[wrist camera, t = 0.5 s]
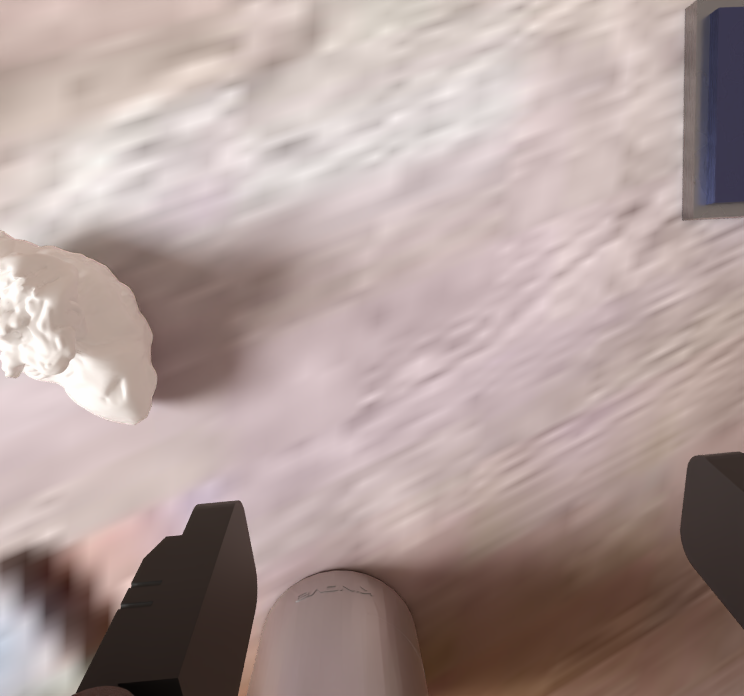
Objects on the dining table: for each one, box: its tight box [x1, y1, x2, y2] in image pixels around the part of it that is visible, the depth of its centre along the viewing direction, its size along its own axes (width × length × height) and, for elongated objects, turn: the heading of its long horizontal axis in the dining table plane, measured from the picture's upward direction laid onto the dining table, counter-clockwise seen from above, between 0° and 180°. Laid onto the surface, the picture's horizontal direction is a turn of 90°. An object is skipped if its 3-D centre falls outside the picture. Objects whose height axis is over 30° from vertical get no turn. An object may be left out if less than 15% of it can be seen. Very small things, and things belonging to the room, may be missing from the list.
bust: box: [0, 231, 157, 425], centre depth 26 cm, size 12×8×11 cm
